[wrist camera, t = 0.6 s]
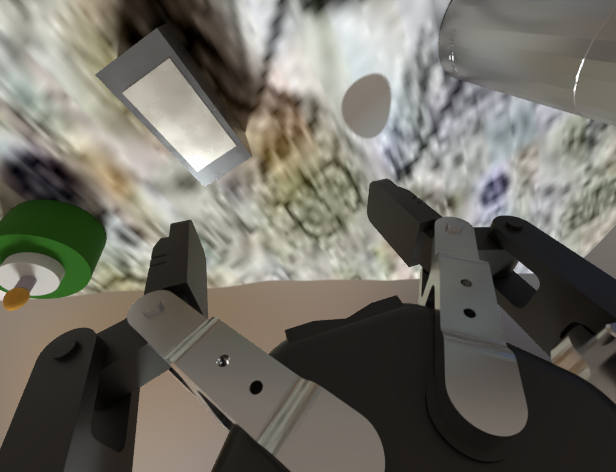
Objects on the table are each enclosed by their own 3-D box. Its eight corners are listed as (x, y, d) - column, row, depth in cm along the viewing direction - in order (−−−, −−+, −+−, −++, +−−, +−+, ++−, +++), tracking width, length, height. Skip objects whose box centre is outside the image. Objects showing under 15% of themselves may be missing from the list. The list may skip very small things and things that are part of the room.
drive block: (167, 22, 21) (156, 27, 17) (245, 132, 28) (252, 156, 23) (118, 60, 22) (94, 75, 17) (205, 158, 28) (204, 187, 24)
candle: (62, 270, 32) (18, 350, 25) (-19, 222, 26) (-107, 306, 19) (124, 241, 32) (98, 312, 24) (56, 185, 26) (-4, 256, 19)
